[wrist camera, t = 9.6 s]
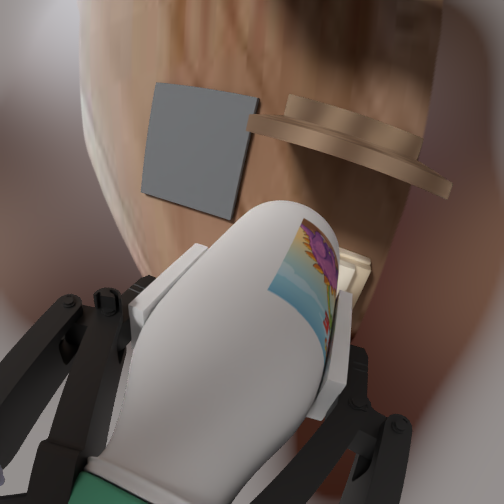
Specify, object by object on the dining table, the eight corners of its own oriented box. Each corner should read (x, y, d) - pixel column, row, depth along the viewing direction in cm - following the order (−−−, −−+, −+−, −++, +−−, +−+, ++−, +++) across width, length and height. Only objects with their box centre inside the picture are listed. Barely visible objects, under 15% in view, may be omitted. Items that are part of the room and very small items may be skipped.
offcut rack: (247, 266, 49) (206, 327, 35) (290, 94, 37) (257, 80, 23) (356, 304, 46) (352, 378, 32) (421, 138, 34) (464, 151, 20)
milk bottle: (231, 285, 25) (70, 515, 7) (237, 189, 21) (-39, 418, 4) (328, 307, 23) (249, 594, 5) (350, 209, 19) (286, 609, 2)
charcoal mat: (144, 190, 49) (140, 192, 48) (159, 82, 40) (156, 82, 40) (232, 218, 46) (230, 220, 46) (259, 98, 38) (257, 97, 37)
